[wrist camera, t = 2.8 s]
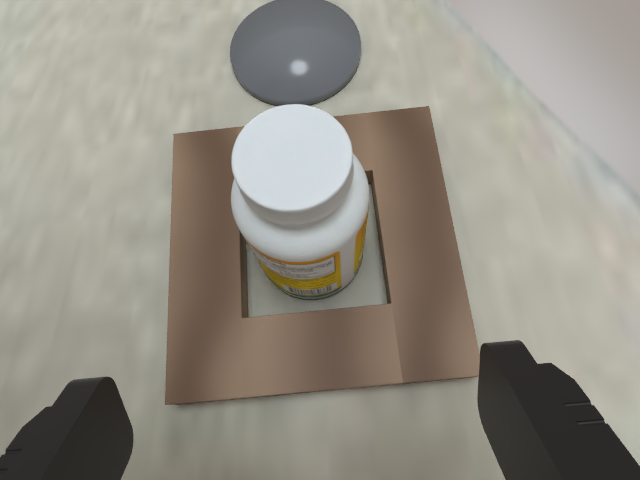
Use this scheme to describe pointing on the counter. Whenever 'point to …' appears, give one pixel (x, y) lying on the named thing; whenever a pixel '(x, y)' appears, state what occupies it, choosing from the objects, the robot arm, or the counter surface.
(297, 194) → the supplement bottle
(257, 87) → the coaster
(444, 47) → the counter surface
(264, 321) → the pocket board
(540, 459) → the robot arm
